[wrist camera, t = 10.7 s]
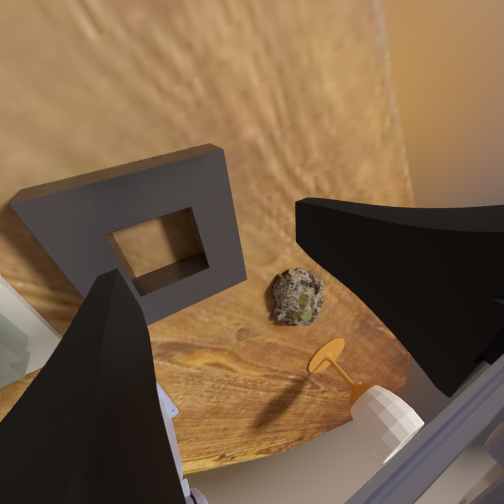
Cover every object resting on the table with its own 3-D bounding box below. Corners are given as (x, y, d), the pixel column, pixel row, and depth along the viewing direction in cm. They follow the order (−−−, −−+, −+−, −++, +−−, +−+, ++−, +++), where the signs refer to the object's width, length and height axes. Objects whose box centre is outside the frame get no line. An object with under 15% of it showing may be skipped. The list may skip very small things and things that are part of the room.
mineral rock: (339, 299, 34) (308, 348, 32) (314, 287, 37) (284, 331, 35) (318, 253, 27) (277, 311, 25) (289, 243, 30) (250, 294, 28)
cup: (326, 337, 43) (414, 429, 31) (350, 337, 49) (432, 416, 37) (299, 373, 45) (371, 473, 33) (325, 370, 51) (395, 454, 39)
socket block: (235, 265, 24) (247, 279, 22) (114, 318, 20) (116, 340, 19) (209, 143, 17) (223, 149, 15) (20, 189, 14) (9, 204, 12)
